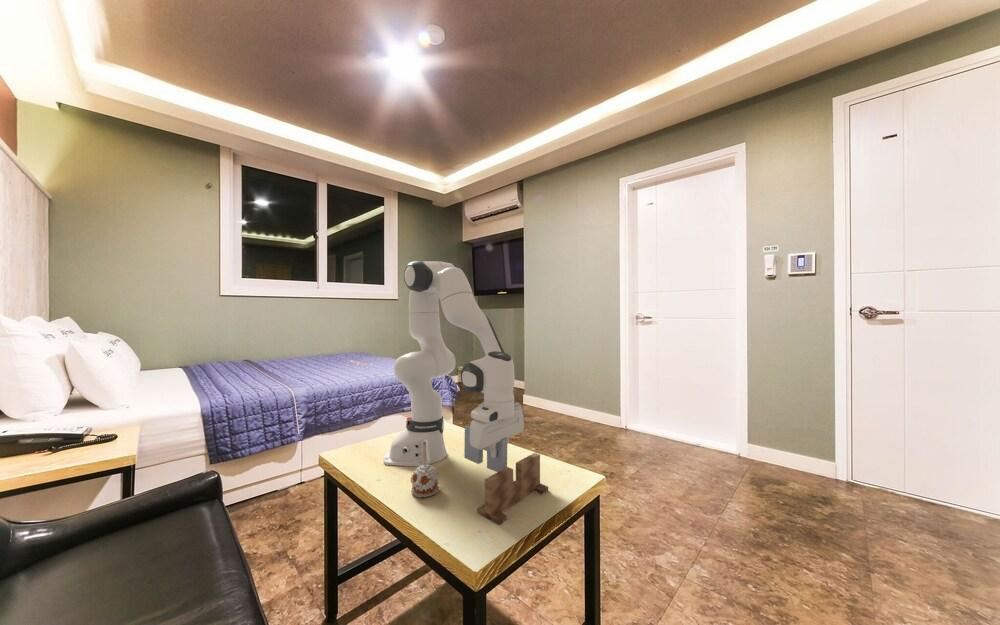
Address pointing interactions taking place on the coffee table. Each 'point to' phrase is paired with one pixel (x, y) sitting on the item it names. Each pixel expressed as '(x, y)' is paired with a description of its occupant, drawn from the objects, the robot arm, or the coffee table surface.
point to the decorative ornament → (425, 479)
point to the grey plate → (477, 455)
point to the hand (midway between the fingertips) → (498, 454)
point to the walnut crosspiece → (511, 488)
